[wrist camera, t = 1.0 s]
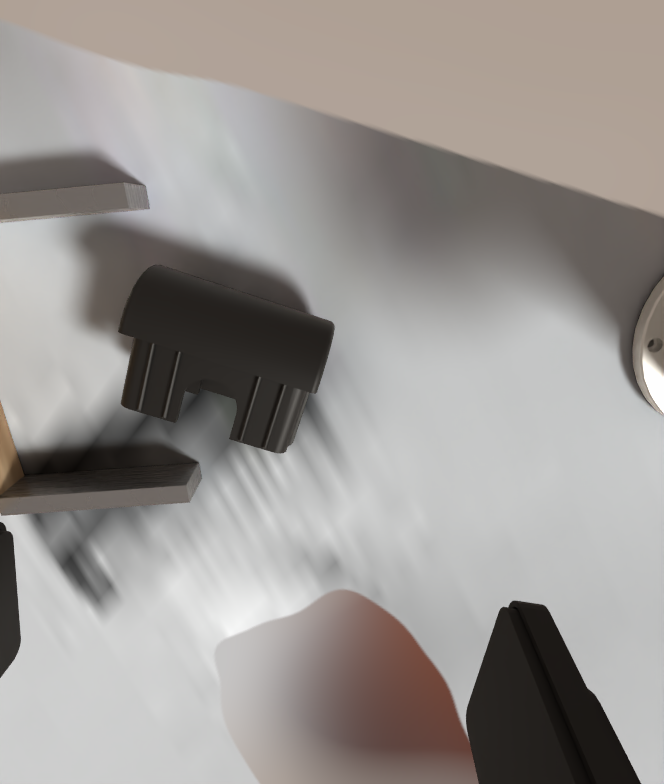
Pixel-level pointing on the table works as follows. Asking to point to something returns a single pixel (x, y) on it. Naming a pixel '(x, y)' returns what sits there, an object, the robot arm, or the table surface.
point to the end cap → (222, 354)
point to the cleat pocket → (97, 484)
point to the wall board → (8, 457)
